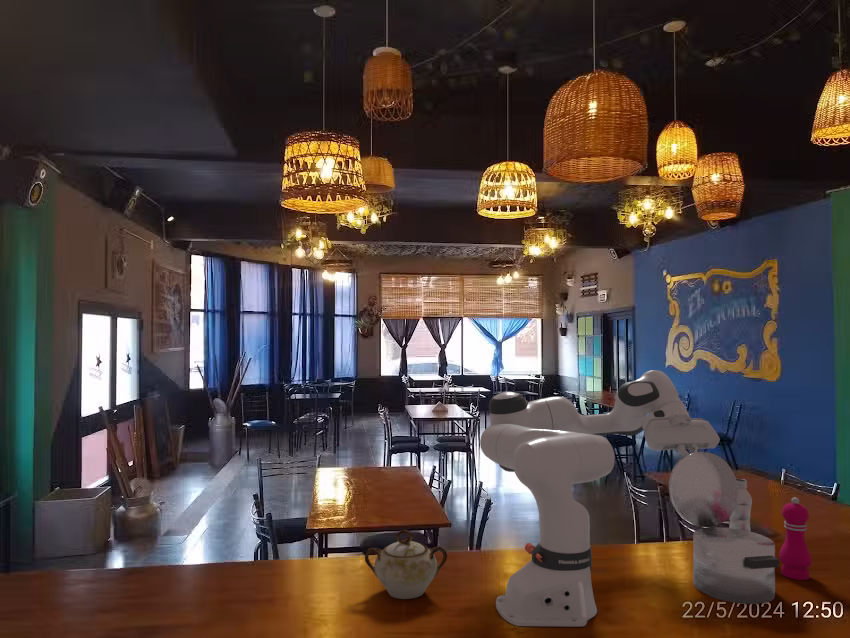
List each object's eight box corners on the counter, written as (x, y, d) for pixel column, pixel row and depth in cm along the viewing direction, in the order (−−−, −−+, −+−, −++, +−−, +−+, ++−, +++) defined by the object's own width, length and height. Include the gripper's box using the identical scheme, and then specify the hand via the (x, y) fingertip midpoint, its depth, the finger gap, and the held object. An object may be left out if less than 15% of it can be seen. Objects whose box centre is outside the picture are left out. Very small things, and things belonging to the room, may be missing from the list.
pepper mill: (816, 582, 163) (816, 502, 163) (784, 579, 165) (784, 500, 165) (805, 571, 170) (805, 494, 170) (775, 569, 172) (775, 493, 172)
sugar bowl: (361, 605, 149) (361, 539, 149) (367, 579, 164) (367, 519, 164) (447, 606, 149) (447, 540, 149) (446, 580, 164) (446, 520, 164)
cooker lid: (668, 453, 170) (663, 452, 173) (675, 528, 167) (669, 527, 170) (733, 450, 174) (727, 450, 176) (742, 524, 171) (735, 523, 173)
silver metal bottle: (753, 549, 187) (753, 479, 187) (751, 556, 181) (751, 484, 181) (729, 545, 190) (729, 476, 191) (725, 551, 185) (725, 481, 185)
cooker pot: (729, 611, 146) (729, 557, 147) (676, 574, 168) (676, 528, 168) (800, 605, 150) (800, 552, 150) (739, 570, 171) (739, 524, 171)
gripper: (701, 424, 190) (722, 465, 180) (636, 426, 186) (654, 468, 176) (711, 411, 185) (733, 452, 176) (644, 413, 182) (663, 455, 172)
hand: (693, 460), depth 176 cm, fingers closed
